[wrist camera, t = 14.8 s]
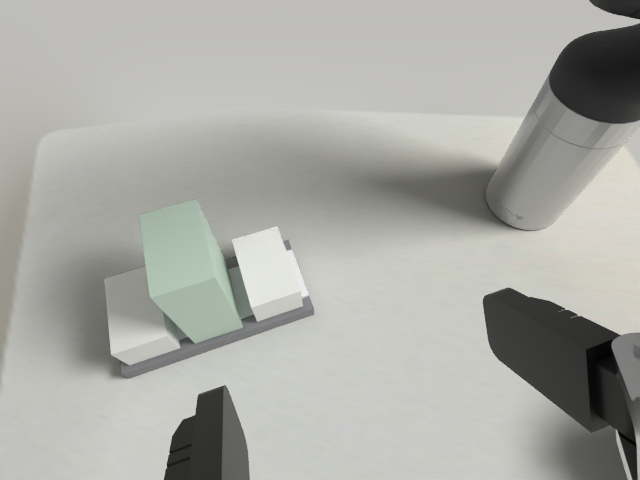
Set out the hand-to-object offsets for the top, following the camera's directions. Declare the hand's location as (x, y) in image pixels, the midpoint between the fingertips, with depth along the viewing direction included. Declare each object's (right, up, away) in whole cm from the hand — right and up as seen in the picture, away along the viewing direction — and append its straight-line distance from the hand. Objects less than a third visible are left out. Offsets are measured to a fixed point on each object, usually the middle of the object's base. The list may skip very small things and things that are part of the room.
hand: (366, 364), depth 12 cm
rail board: (-13, -4, +33) cm, 36 cm away
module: (-13, -3, +31) cm, 34 cm away
